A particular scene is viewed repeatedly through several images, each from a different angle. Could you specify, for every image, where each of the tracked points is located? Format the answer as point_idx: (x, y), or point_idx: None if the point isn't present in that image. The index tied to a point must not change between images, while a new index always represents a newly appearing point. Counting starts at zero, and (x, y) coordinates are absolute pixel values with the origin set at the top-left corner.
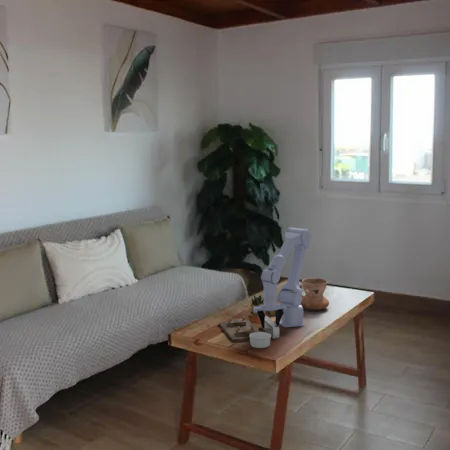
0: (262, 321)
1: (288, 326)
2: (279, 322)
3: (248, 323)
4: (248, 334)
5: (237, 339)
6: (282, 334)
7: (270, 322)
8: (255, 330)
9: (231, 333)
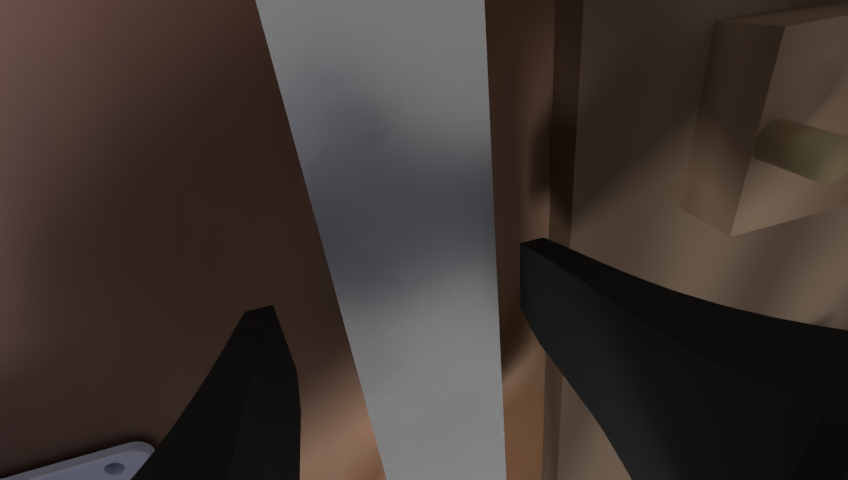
0: (658, 288)
1: (68, 466)
2: (209, 373)
3: (593, 453)
4: (828, 5)
5: None
6: (173, 148)
7: (437, 337)
8: (615, 239)
9: None
